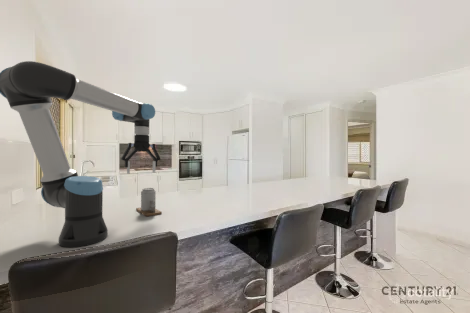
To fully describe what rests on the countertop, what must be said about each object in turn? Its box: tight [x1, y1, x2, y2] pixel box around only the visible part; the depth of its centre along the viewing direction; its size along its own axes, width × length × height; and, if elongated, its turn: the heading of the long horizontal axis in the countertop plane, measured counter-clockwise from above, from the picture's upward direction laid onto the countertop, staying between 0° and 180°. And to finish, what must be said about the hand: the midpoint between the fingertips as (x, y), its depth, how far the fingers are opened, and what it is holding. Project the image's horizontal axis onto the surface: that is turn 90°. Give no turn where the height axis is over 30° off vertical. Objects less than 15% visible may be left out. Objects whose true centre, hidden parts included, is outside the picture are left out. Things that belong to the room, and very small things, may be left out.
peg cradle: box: [135, 200, 162, 218], centre depth 120 cm, size 17×8×7 cm, turn 41°
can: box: [140, 187, 157, 211], centre depth 120 cm, size 8×8×12 cm
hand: (141, 173), depth 119 cm, fingers open, 13 cm apart
